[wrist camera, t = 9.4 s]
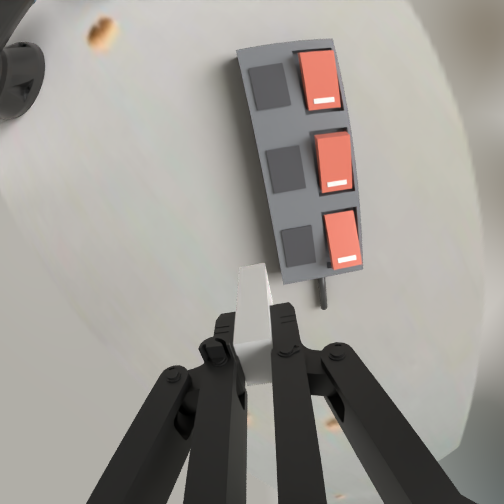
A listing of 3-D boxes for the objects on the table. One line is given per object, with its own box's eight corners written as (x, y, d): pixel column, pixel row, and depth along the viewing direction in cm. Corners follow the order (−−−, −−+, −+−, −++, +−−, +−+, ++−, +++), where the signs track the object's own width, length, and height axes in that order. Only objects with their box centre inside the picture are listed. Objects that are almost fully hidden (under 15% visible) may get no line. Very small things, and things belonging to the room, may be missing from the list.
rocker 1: (306, 108, 36) (309, 110, 35) (297, 52, 31) (300, 53, 30) (337, 104, 36) (340, 107, 34) (329, 50, 31) (333, 50, 29)
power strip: (288, 312, 53) (290, 327, 49) (237, 56, 35) (235, 49, 31) (356, 299, 52) (363, 312, 48) (325, 45, 34) (333, 38, 30)
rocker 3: (331, 268, 43) (334, 269, 42) (322, 215, 43) (324, 215, 41) (359, 263, 43) (362, 264, 41) (350, 210, 43) (353, 210, 41)
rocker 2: (319, 187, 41) (322, 193, 40) (314, 135, 36) (317, 139, 34) (348, 183, 40) (352, 188, 39) (345, 131, 35) (350, 135, 34)
